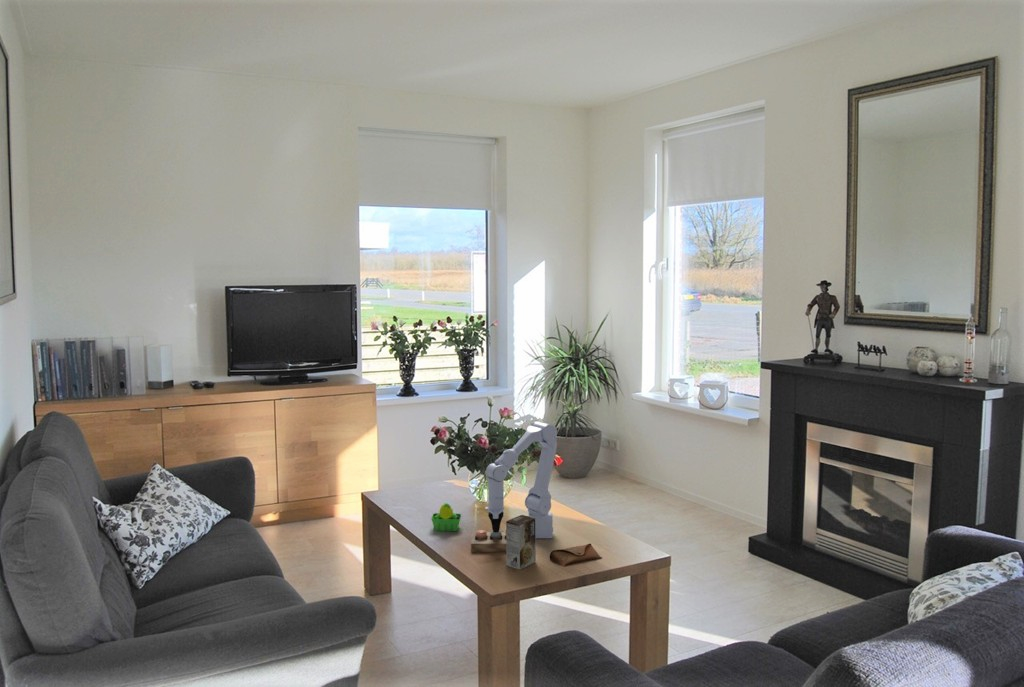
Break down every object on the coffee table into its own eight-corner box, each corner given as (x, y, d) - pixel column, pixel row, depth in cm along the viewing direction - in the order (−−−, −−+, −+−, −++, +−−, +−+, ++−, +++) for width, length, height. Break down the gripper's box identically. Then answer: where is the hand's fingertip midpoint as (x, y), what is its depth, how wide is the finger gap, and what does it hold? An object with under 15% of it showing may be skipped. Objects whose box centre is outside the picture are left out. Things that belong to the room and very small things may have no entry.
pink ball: (486, 539, 304) (486, 529, 303) (486, 543, 300) (486, 533, 299) (476, 539, 304) (476, 529, 303) (475, 543, 300) (475, 533, 299)
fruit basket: (461, 525, 325) (461, 498, 324) (459, 533, 316) (459, 504, 315) (433, 525, 325) (433, 498, 324) (430, 532, 317) (430, 504, 315)
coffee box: (521, 558, 289) (521, 514, 287) (536, 562, 285) (536, 517, 283) (505, 565, 282) (505, 520, 280) (520, 570, 278) (519, 524, 276)
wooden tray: (519, 539, 308) (519, 531, 308) (520, 551, 295) (520, 543, 295) (472, 539, 308) (472, 531, 308) (471, 551, 295) (471, 543, 295)
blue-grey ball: (501, 539, 304) (501, 529, 303) (501, 543, 300) (501, 533, 299) (490, 539, 304) (490, 529, 303) (490, 543, 300) (490, 533, 299)
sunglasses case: (562, 567, 280) (557, 548, 282) (552, 571, 285) (547, 552, 288) (604, 557, 289) (598, 539, 291) (594, 562, 294) (589, 544, 297)
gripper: (485, 490, 307) (485, 525, 309) (484, 501, 293) (484, 538, 294) (504, 490, 307) (504, 525, 309) (504, 501, 293) (504, 538, 294)
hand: (496, 531), depth 301 cm, fingers closed, pressing on blue-grey ball
